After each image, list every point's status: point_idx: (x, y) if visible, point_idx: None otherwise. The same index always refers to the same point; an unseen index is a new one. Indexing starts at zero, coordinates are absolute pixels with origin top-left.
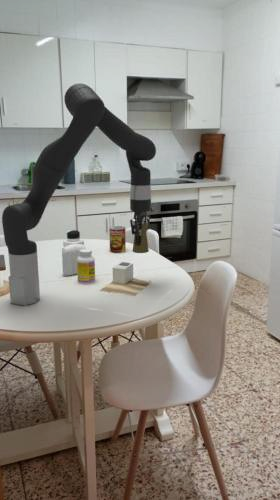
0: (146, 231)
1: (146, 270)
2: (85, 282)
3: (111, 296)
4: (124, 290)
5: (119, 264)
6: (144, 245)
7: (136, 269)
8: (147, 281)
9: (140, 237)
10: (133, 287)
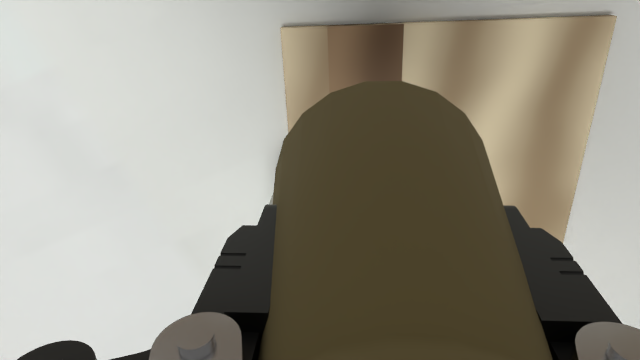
0: (214, 331)
1: (83, 159)
2: None
3: (613, 159)
4: (524, 124)
5: None
6: (464, 148)
7: (106, 218)
8: (302, 56)
9: (571, 294)
10: (452, 95)
